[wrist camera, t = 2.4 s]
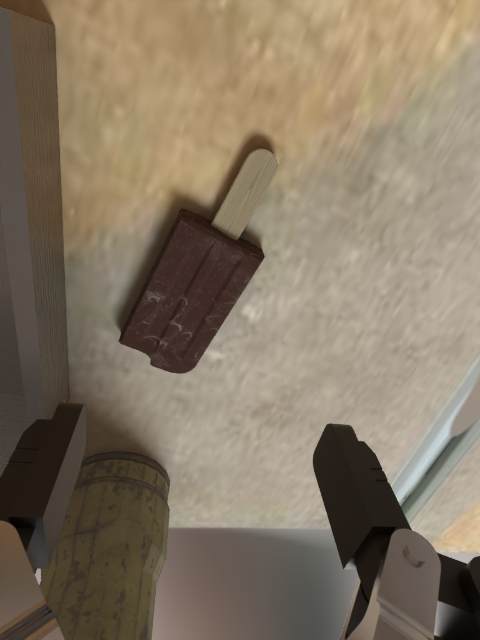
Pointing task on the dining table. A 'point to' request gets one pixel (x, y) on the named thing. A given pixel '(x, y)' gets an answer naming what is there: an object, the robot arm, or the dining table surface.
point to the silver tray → (30, 231)
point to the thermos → (110, 550)
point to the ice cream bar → (199, 274)
